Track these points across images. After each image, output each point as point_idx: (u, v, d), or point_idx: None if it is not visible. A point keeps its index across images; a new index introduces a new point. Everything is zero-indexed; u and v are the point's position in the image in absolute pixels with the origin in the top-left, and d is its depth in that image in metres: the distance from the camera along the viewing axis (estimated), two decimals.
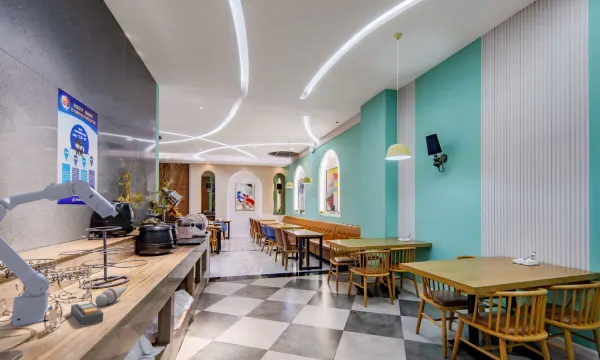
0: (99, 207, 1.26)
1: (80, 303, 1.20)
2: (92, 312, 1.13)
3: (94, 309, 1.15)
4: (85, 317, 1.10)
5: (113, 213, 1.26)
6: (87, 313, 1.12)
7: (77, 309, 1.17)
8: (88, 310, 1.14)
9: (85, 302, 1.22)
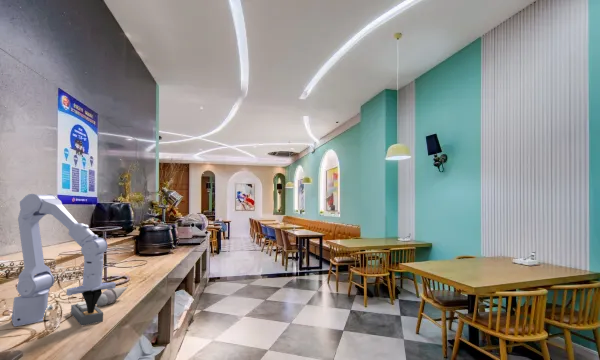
0: None
1: (80, 303, 1.20)
2: None
3: (94, 311, 1.15)
4: (85, 317, 1.10)
5: (67, 291, 1.10)
6: None
7: (77, 309, 1.17)
8: None
9: (85, 302, 1.22)
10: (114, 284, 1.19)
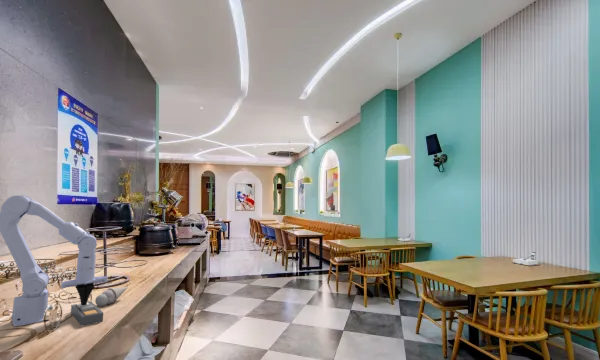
0: None
1: (80, 305, 1.20)
2: None
3: (94, 311, 1.15)
4: (85, 317, 1.10)
5: (61, 284, 1.17)
6: None
7: (77, 309, 1.17)
8: (88, 312, 1.13)
9: None
10: (106, 278, 1.26)
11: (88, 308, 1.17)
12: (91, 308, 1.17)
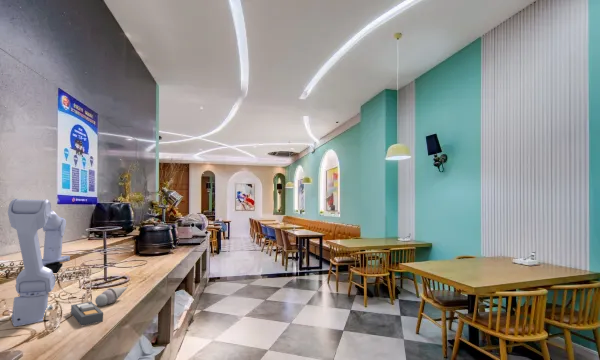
0: (44, 250, 1.26)
1: (80, 305, 1.20)
2: None
3: (94, 311, 1.15)
4: (85, 317, 1.10)
5: None
6: None
7: (77, 309, 1.17)
8: (88, 312, 1.13)
9: (85, 304, 1.22)
10: (69, 257, 1.35)
11: (88, 308, 1.17)
12: (91, 308, 1.17)
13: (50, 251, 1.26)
